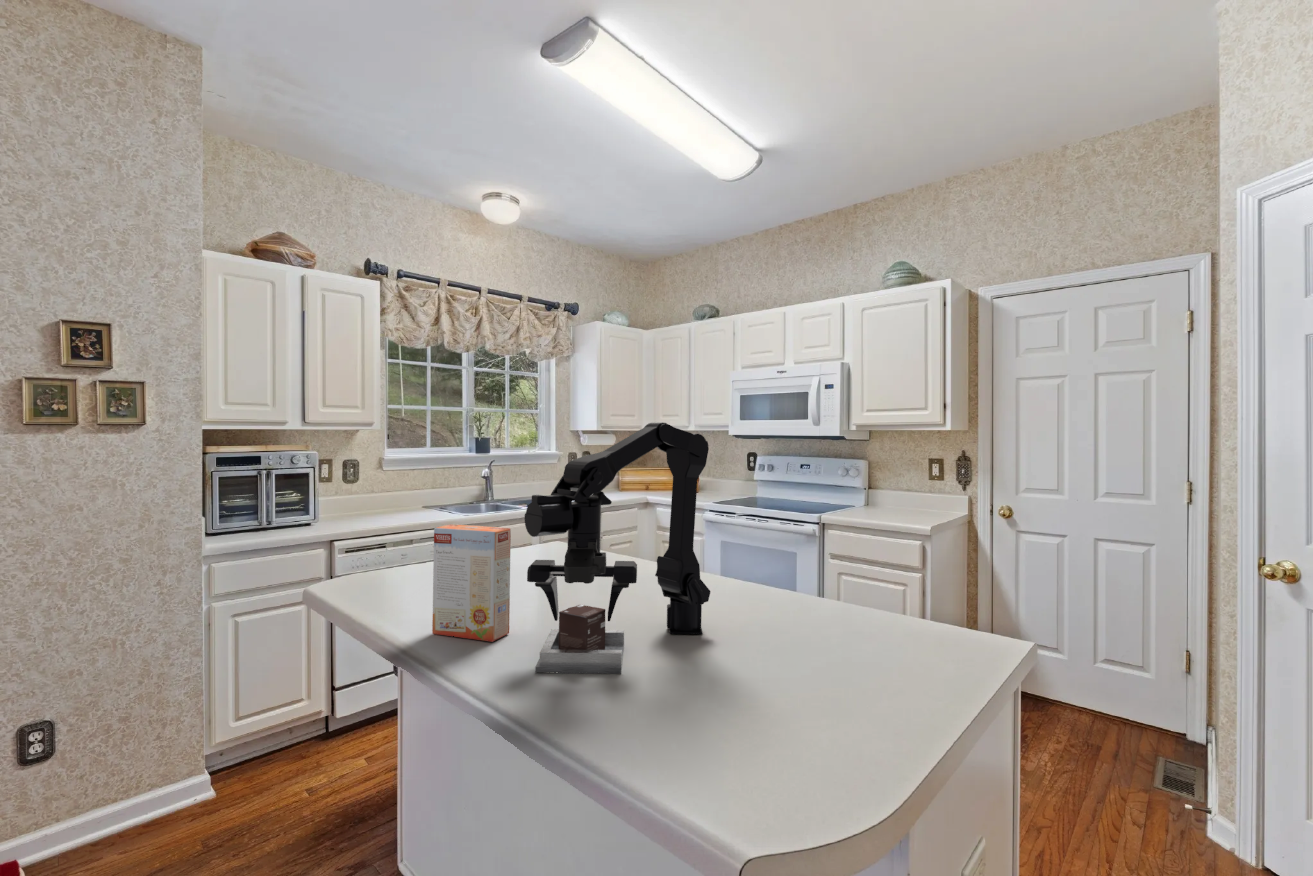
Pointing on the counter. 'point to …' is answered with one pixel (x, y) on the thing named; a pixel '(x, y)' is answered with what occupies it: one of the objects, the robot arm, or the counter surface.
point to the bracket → (582, 656)
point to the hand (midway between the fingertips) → (582, 620)
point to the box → (582, 628)
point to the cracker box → (471, 582)
